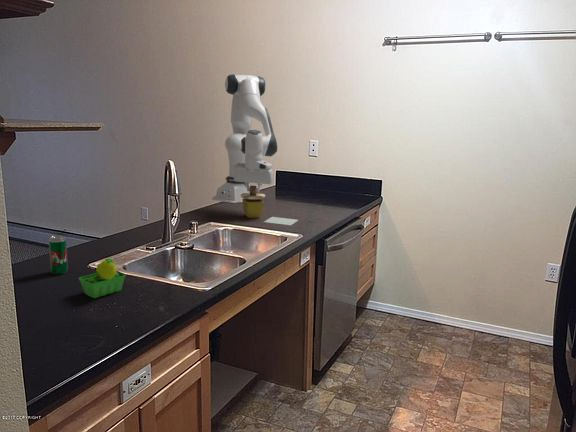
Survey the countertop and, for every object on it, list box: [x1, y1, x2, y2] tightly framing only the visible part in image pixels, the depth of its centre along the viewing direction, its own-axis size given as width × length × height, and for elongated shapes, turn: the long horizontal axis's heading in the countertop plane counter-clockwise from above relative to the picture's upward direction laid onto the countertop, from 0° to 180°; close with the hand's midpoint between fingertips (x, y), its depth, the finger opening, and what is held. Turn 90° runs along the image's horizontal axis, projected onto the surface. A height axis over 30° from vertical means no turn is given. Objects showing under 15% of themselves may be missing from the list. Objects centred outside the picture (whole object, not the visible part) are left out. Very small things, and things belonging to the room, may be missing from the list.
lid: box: [241, 185, 266, 200], centre depth 242 cm, size 12×12×6 cm
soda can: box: [48, 235, 69, 276], centre depth 158 cm, size 5×5×12 cm
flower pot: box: [242, 199, 265, 219], centre depth 244 cm, size 9×9×9 cm
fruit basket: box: [78, 257, 126, 299], centre depth 144 cm, size 11×9×11 cm
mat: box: [263, 216, 299, 226], centre depth 238 cm, size 14×12×1 cm
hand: (253, 191), depth 242 cm, fingers closed on lid, 3 cm apart
